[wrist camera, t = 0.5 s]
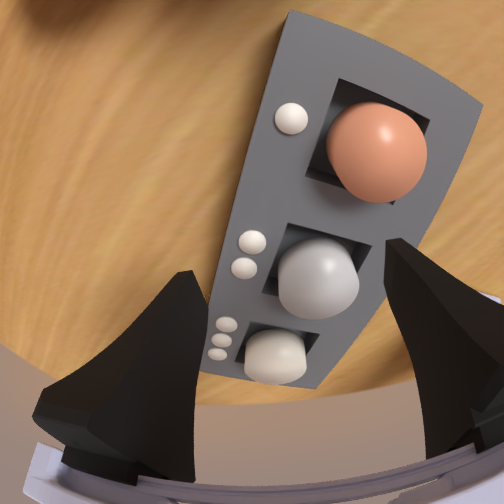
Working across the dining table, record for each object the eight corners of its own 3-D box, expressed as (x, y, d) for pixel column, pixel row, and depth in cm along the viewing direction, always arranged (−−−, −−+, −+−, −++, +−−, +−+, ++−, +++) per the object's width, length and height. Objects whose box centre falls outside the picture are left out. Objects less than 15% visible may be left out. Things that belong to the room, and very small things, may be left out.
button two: (363, 247, 18) (373, 269, 16) (333, 301, 21) (338, 324, 19) (292, 228, 18) (294, 249, 16) (268, 288, 20) (268, 311, 19)
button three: (313, 334, 23) (316, 356, 21) (292, 367, 26) (293, 387, 24) (254, 323, 22) (253, 346, 21) (239, 358, 25) (238, 379, 23)
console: (457, 96, 14) (485, 105, 12) (313, 365, 30) (315, 390, 27) (285, 18, 13) (290, 8, 10) (199, 345, 29) (193, 371, 26)
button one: (420, 122, 13) (440, 132, 12) (389, 196, 16) (402, 214, 14) (342, 87, 13) (354, 91, 11) (313, 170, 16) (320, 186, 14)
